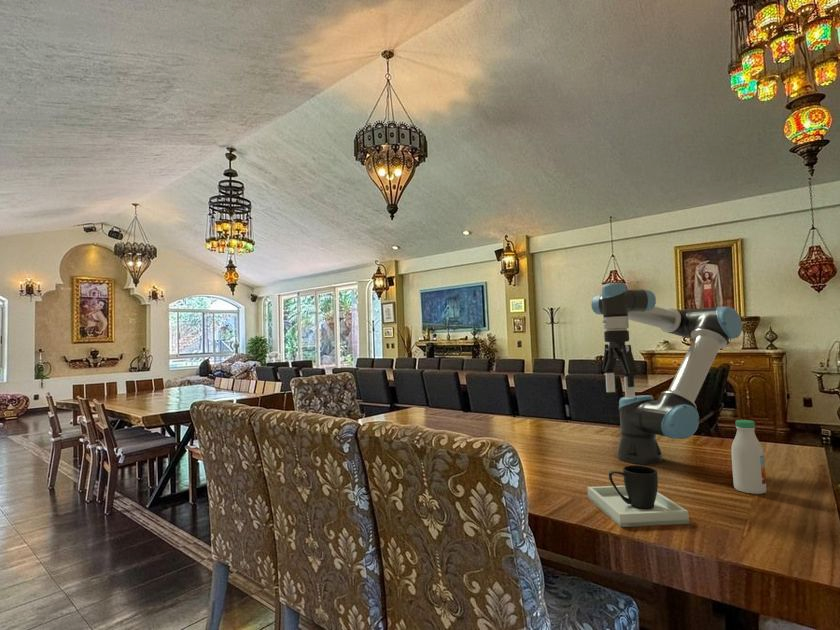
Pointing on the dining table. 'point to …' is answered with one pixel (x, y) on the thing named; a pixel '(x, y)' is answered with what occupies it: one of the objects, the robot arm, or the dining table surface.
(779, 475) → the dining table surface
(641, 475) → the mug
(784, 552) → the dining table surface
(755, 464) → the milk bottle
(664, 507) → the tray
